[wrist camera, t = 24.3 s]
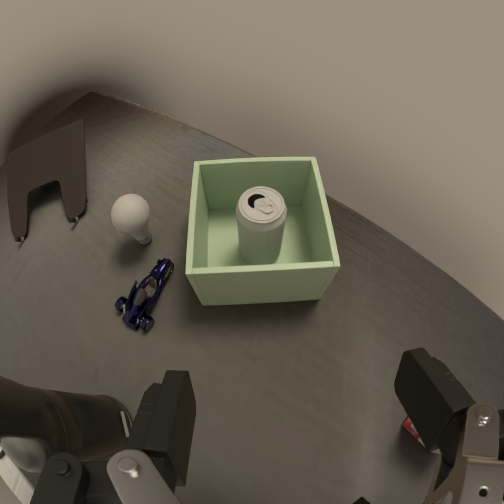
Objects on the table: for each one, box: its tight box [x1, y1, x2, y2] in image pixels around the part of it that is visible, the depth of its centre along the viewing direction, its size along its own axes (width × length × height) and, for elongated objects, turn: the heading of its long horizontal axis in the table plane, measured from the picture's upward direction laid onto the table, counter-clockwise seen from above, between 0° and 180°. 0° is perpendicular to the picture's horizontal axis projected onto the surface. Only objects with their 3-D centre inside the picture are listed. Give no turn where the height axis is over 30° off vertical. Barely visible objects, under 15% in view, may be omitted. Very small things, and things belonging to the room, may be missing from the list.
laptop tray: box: [7, 119, 87, 242], centre depth 51 cm, size 23×23×9 cm
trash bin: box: [185, 157, 340, 306], centre depth 42 cm, size 18×18×12 cm
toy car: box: [115, 258, 174, 332], centre depth 42 cm, size 12×6×4 cm, turn 149°
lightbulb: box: [111, 194, 152, 245], centre depth 43 cm, size 6×6×11 cm
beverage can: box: [236, 186, 287, 265], centre depth 41 cm, size 6×6×12 cm
